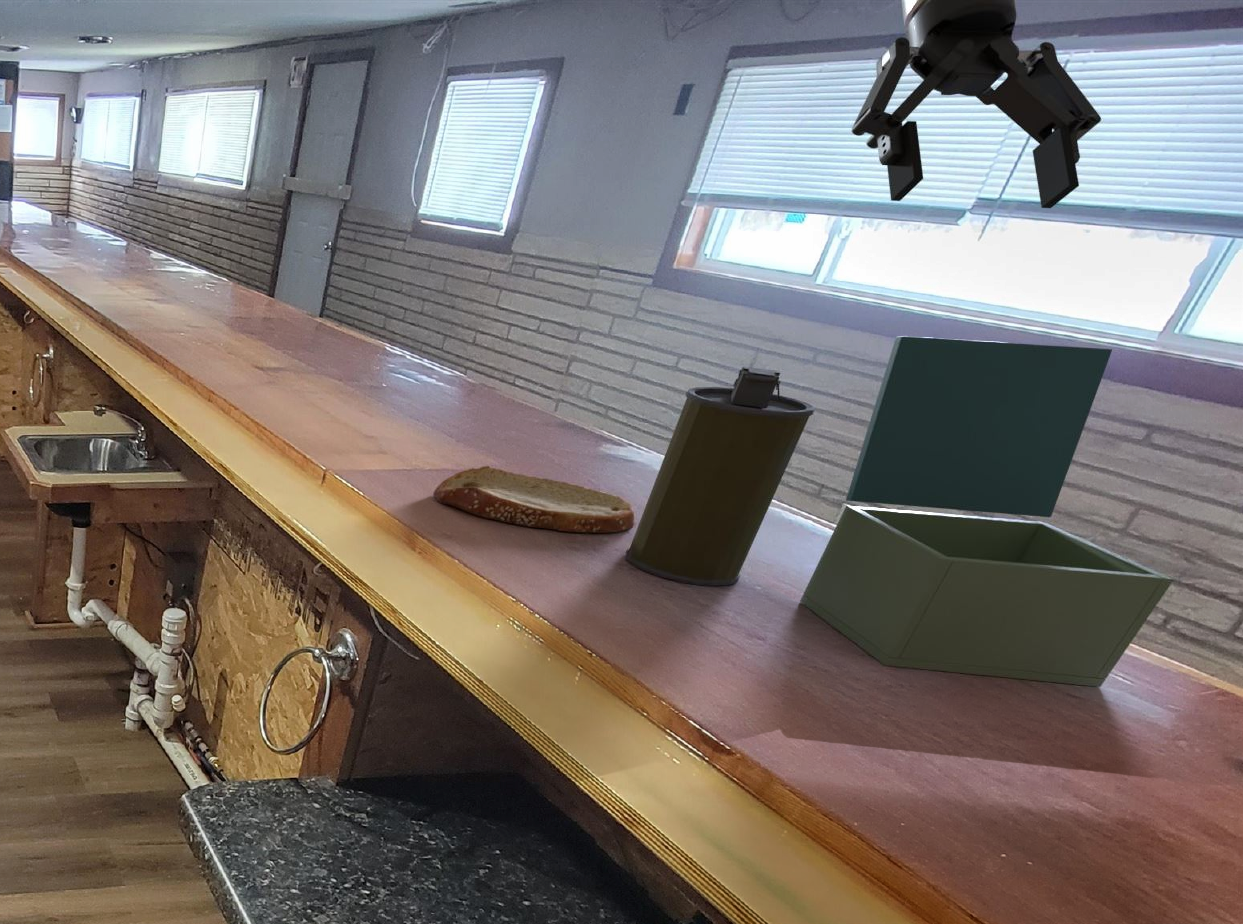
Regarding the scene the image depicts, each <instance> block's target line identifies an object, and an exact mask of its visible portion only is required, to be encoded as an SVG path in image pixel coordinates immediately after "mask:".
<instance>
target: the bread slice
mask: <svg viewBox="0 0 1243 924" xmlns="http://www.w3.org/2000/svg"><path fill="white" fill-rule="evenodd" d="M433 496H434V497H435V499H436V500H437V501H438V503H440V504H444V505H447V506H451V507H454V508H458V509H460V510H463V511H464V512H466V513H470V514H472V515H475V516H478V517H481V518H484V519H488V520H493V519H494V520H495V521H499V522H503V523H506V524H512V523H513V524H512V525H516V524H517V526H523V527H526V528H527V527H528V528H534V529H535V528H536V529H548V530H553V531H558V532H565V533H566V532H567V533H582V534H583V533H586V534H587V533H588V534H612V533H620V532H623V531H624V532H625V531H628V530H630V529H633V528H634V526H636V514H635V511H634V509H633V506H632V504H631V503H630V502H628V501H627V500H626V499H624V498H623V497H621V496H619V495H614V494H611V493H607V492H603V491H600V490H598V489H594V488H587V487H584V486H581V485H578V484H572V483H568V482H566V481H560V480H555V479H551V478H550V479H549V478H545V477H544V478H543V477H537V476H532V475H526V474H524V473H517V472H516V473H515V472H512V471H506V470H503V469H500V468H491V465H486V466H481V467H479V468H474V467H471V468H469V469H467V470H466V469H465V470H462V471H459V472H456V473H455V474H453V475H451V476H449V477H446V479H444V480H442V482H440V484H439V485H438V486H437V487H436V488H435V490H434V491H433Z"/></svg>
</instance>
